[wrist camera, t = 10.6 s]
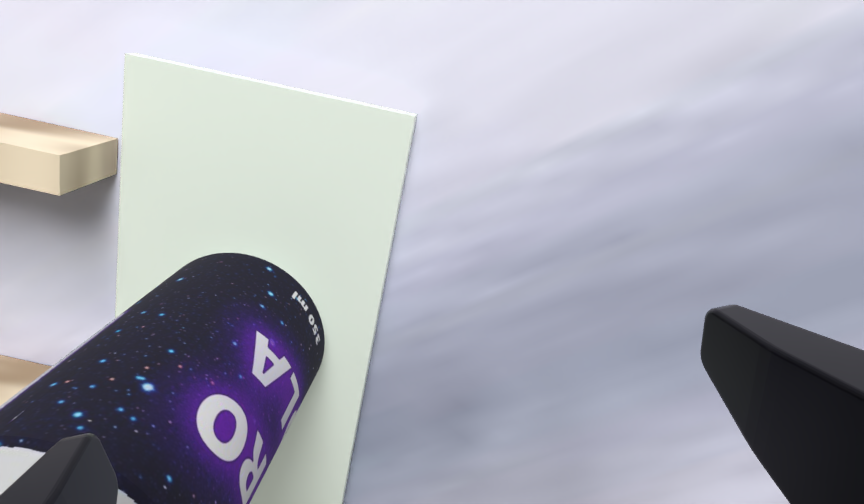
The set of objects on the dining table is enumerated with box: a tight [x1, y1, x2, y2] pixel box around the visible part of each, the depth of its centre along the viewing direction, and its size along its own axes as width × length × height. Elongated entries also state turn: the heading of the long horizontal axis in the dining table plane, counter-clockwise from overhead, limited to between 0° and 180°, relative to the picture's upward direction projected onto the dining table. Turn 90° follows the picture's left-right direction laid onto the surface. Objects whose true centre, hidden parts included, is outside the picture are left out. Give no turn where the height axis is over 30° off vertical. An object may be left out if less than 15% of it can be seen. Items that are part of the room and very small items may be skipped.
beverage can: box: [0, 253, 325, 504], centre depth 17 cm, size 6×6×12 cm
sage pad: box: [115, 53, 417, 504], centre depth 23 cm, size 9×16×1 cm, turn 169°
